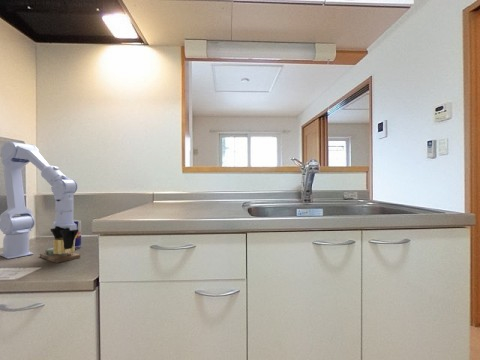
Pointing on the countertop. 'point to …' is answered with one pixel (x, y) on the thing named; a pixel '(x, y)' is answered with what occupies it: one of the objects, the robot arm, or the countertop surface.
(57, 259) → the gear board
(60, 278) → the countertop surface
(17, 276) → the countertop surface
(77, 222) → the energy drink
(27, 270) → the countertop surface
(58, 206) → the robot arm
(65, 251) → the brass gear
